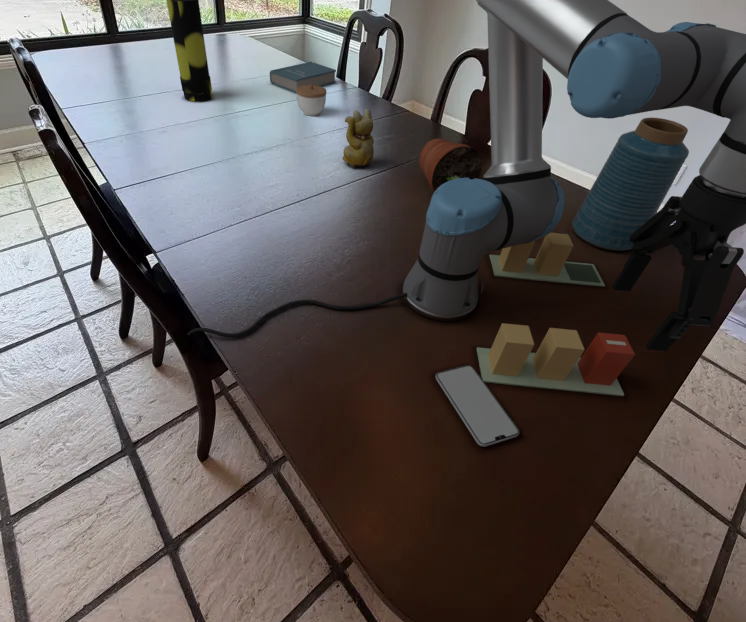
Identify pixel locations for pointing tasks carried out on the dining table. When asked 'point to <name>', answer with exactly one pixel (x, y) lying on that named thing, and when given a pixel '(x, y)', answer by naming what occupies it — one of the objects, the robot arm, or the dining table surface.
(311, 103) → the trinket box
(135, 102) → the dining table surface
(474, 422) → the smartphone
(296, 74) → the book
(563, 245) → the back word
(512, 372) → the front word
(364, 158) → the decorative figurine
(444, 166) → the potted plant
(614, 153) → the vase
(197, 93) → the container
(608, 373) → the red slotted block
